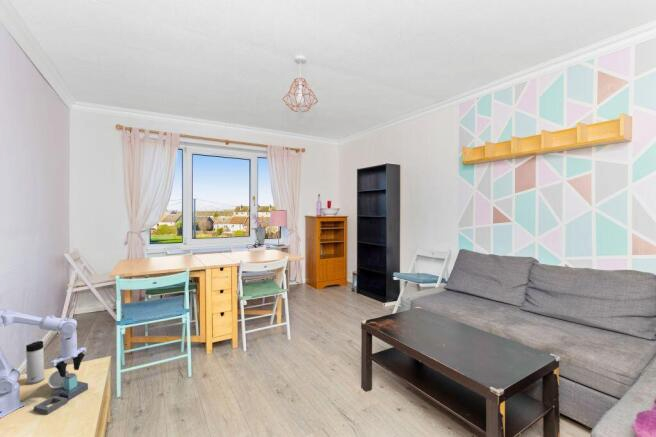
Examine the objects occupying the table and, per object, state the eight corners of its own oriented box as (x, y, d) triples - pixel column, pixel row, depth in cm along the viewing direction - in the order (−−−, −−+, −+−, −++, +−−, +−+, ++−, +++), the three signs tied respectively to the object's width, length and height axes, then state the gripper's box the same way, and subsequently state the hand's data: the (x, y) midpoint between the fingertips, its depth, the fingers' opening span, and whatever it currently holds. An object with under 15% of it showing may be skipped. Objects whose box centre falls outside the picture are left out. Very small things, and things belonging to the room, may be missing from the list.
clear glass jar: (44, 380, 149) (43, 381, 141) (60, 365, 154) (60, 366, 147) (58, 389, 151) (58, 391, 143) (73, 374, 156) (74, 375, 149)
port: (68, 400, 140) (68, 394, 140) (51, 396, 142) (51, 390, 142) (87, 389, 148) (87, 382, 148) (72, 385, 151) (72, 379, 151)
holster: (47, 414, 131) (47, 410, 131) (34, 411, 133) (33, 406, 133) (67, 402, 139) (67, 398, 138) (54, 399, 140) (54, 395, 140)
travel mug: (34, 385, 150) (32, 346, 149) (23, 383, 152) (22, 344, 150) (48, 378, 156) (47, 340, 155) (38, 376, 158) (36, 339, 156)
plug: (69, 396, 143) (69, 377, 143) (63, 394, 144) (63, 376, 143) (77, 391, 147) (77, 373, 146) (71, 390, 147) (71, 372, 147)
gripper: (58, 353, 136) (59, 383, 137) (91, 339, 150) (91, 366, 151) (46, 351, 138) (47, 380, 138) (79, 337, 152) (80, 364, 152)
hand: (69, 373), depth 145 cm, fingers open, 5 cm apart
